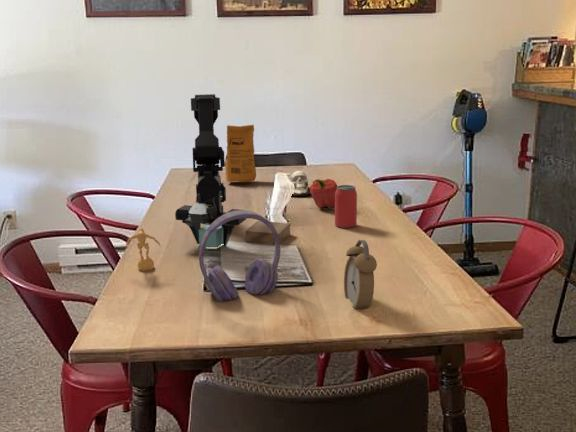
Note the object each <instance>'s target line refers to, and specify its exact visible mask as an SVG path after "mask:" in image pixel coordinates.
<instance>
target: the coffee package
mask: <svg viewBox="0 0 576 432" xmlns="http://www.w3.org/2000/svg"><path fill="white" fill-rule="evenodd" d="M254 132H255V126H254V124H248V125H241V126H240V125H239V126H237V125H230V124H227V125H226V143H227V145H226V154H225V158H224V159H225V167H224V170H225V181H226V182H228V183H232V182H233V183H234V182H239V183H247V182H253V181H256V178H257V171H256V170H257V169H256V163H255V156H254V155H255V145H254V134H255V133H254Z"/></svg>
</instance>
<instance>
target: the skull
mask: <svg viewBox="0 0 576 432" xmlns="http://www.w3.org/2000/svg"><path fill="white" fill-rule="evenodd" d="M289 179H290V181H291V182H292V183H293V184H294V186H295V190H294V194H293V195H292V196H303V195H304V196H305V195H309V194H311V192H310V186H309V179H308V177H307V175H306V173H305V172H304V171H302V170H296V171H294V172H293V173H291V175H290V177H289ZM290 181H289V182H290Z"/></svg>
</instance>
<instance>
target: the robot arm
mask: <svg viewBox="0 0 576 432" xmlns="http://www.w3.org/2000/svg"><path fill="white" fill-rule="evenodd" d="M190 110H191V111H192V112H193V117H194V119H195V121H196V122H197V123H198V133H199V134H198V135H197V137H195V139H194V147H192V171H193V173H197V183H196V184H195V192H196V194H195V195H196V196H195V203H194V204H192V205H185V204H184V205H182V206H181V207H179V208H177V209H176V210H175V213H174V216H175V217H174V218H175V221H181V222H182V224H184V225H187V226H188V227H189V229H190V230H191V232H192V235H193V236H194V239H195V241H196V244H197V245H199V229H201V228H202V226H201V225H207V224H212V223H213V222H214V221H215V220H216V219H217V218H219V217H220V216H222V215H223V214H226V213H228V212H232V211H238V210H240V209H236V208H231V209H230V210H228V211H227V212H226V211H224V205H223V204H222V203H225V201H227V189H226V186H225V185H224V183H223V182H222V180H221V175H220V172H223V171H224V168H225V159H226V158H225V150H223V147H222V146H220V145H219V144H220V143H219V141H220V139H219V138H218V137H217V135H215V129H214V125H215V123H216V121H217V119H218V118H219V111H221V98H220V97H217V96H216V94H215V93H213V94H211V93H210V94H206V93H205V94H194V97H192V98H191V97H190ZM246 220H247V218H240V219H236V220H232V221H228V222H226V223H224V224H222V225H221V226H222V228H223V244H224V245H223V247H224V246H226V245H228V243H229V240H230V238H231V235H232V232H233V229H234V228H235V226H238V225H241V224H242V223H243V222H244V221H246ZM226 247H227V246H226Z"/></svg>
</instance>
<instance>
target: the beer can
mask: <svg viewBox="0 0 576 432" xmlns="http://www.w3.org/2000/svg"><path fill="white" fill-rule="evenodd" d="M337 186H338V187H337V190H336V192H335V206H334V225H335V226H336V227H338V228H341V229H351V228H354V227H356V225H357V217H358V216H357V215H358V209H357V208H358V194H357V190H356V186H354V185H349V184H341V185H337Z"/></svg>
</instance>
